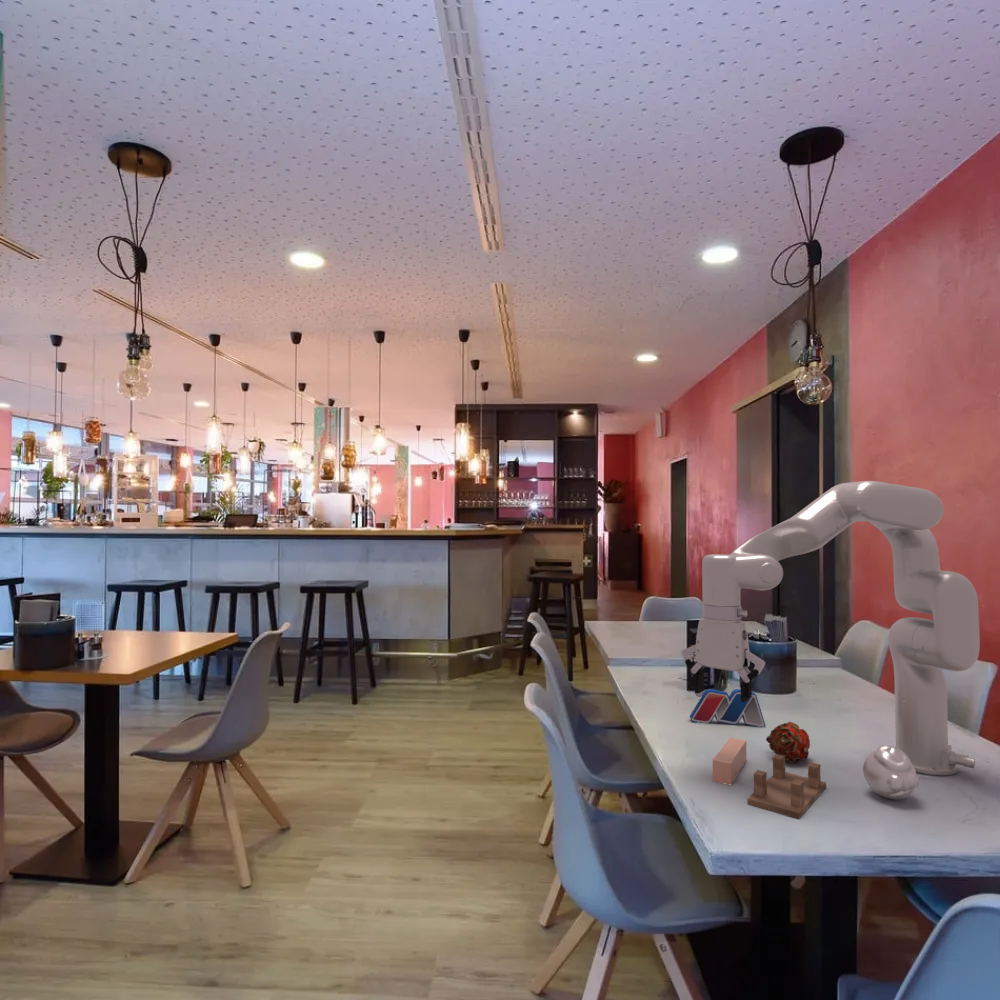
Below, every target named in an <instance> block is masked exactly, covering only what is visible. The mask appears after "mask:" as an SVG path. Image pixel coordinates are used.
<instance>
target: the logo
mask: <svg viewBox="0 0 1000 1000" xmlns="http://www.w3.org/2000/svg"><path fill="white" fill-rule="evenodd" d="M694 693H695V692H694ZM695 695H696V697H698V698H699V700H698V702H697V703H696V705H695V706H694V708H693V710H692V712H691V714H689V718H690V721H691V722H692V723H698V722H699V723H698V724H707V723H708V724H710V723H712V721H713V720H714V719H715V721H716V722H718V723H722V724H723V723H725V724H728V725H732V726H733V725H738V724H739V723H740V721H741V720H743V722H744V724H745V725H747V726H753V727H757V726H760V727H759V728H765V727H766V722H765V719H764V716H763V712H762V709H761V706H760V703H759V699H758V696H757V695H756V693H755V692H753V691H752V696H751V698H750V699H749V700H748V701H746V702H742V701H741V688H738V689H737V688H735V689H733V690H732V691H731V692H730V694H728V693H727V691H724V690H718V689H712V688H708V689H706V690H704V691H702V692H700V693H695Z"/></svg>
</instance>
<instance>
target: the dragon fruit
mask: <svg viewBox="0 0 1000 1000" xmlns="http://www.w3.org/2000/svg"><path fill="white" fill-rule="evenodd" d="M810 740H811V739H810V736H809V734H808V733H807V731H806V730H805V729H804V728H800V727H799V725H798V724H797V723H794V722H793V721H787V722H785V723H781V724H778V725H777V726H775V727H774V728H773V729H772V730H771V731H770V734H769V735H768V736H767V737H766V739H765V741H766V742H767V743H769V744H768V746H769V749H770V750H771V751H773V753H775V754H774V755H776V754H778V755H782V756H785V761H788V762H789V761H790V763H794V762H796V760H797V759H798V760H807V759H808V757H809V753H810V752H809V749H810V747H811V743H810V742H811V741H810Z"/></svg>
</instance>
